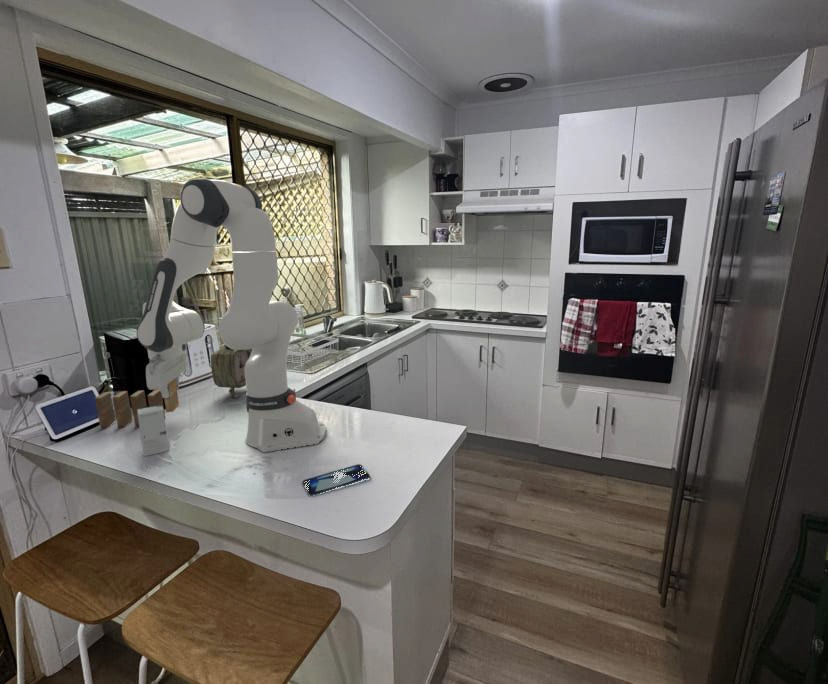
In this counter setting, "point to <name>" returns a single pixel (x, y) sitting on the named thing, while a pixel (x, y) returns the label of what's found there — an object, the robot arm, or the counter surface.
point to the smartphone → (326, 480)
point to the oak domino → (172, 397)
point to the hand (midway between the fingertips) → (170, 393)
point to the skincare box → (152, 430)
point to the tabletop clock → (229, 368)
